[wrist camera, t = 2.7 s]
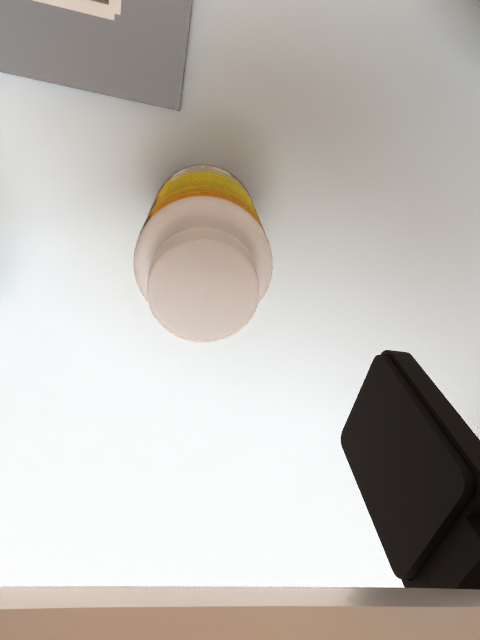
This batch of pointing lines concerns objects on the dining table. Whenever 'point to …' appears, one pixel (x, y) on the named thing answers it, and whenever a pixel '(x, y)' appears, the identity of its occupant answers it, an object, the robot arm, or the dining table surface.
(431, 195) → the dining table surface
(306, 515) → the dining table surface
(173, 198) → the supplement bottle
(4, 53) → the flat gray board
